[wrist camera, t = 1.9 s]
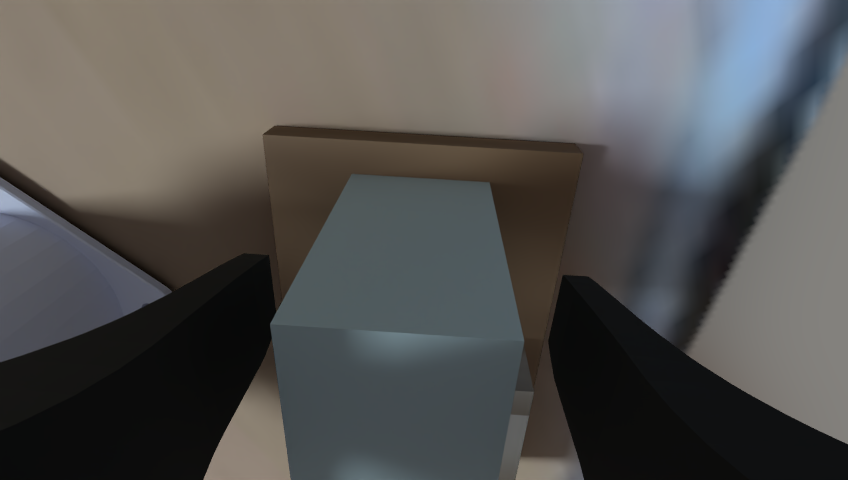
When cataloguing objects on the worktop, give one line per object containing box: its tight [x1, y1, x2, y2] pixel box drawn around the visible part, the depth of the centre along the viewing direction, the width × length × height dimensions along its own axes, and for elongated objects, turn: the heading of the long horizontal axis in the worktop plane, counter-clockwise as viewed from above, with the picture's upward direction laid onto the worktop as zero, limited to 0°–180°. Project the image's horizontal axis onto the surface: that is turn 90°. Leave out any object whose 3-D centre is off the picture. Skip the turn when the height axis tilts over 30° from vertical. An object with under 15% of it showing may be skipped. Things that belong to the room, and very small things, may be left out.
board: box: [263, 126, 583, 480], centre depth 16 cm, size 14×9×4 cm, turn 177°
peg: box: [270, 174, 524, 480], centre depth 11 cm, size 4×4×7 cm
